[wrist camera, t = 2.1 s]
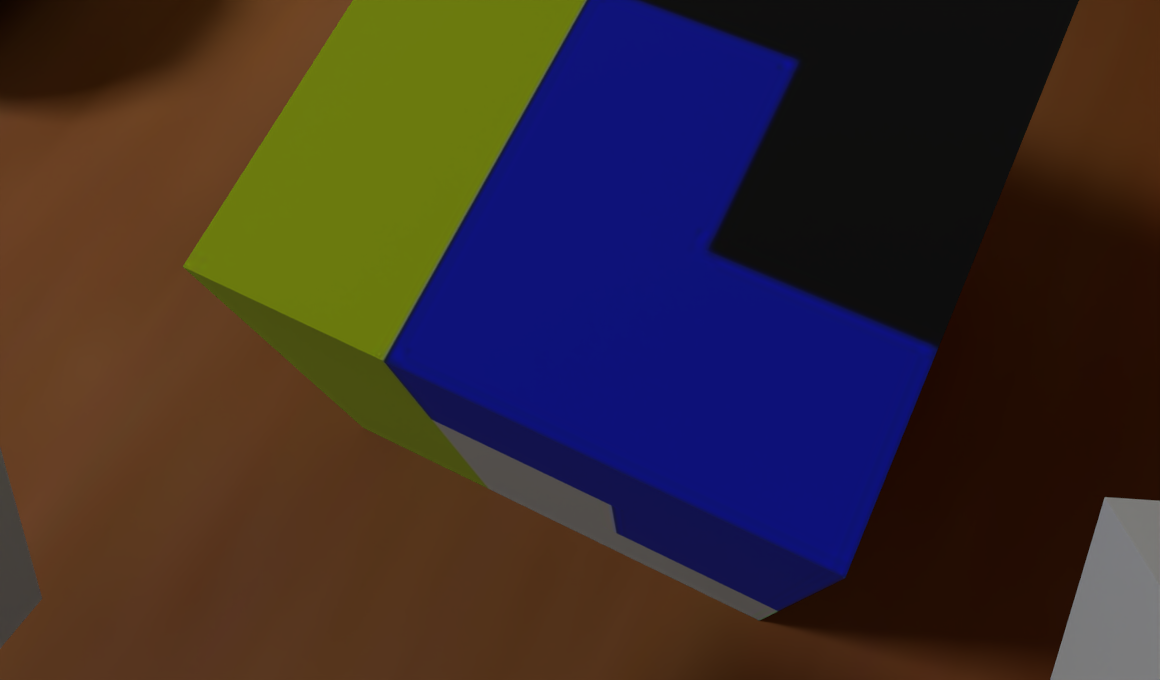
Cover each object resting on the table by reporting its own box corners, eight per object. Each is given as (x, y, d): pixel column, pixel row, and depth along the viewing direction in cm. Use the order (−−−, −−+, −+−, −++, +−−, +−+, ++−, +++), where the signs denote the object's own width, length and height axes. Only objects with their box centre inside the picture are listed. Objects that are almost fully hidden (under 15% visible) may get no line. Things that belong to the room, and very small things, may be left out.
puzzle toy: (759, 620, 22) (845, 578, 13) (364, 428, 24) (182, 266, 15) (922, 235, 25) (1094, -39, 15) (553, 88, 27) (503, -236, 17)
